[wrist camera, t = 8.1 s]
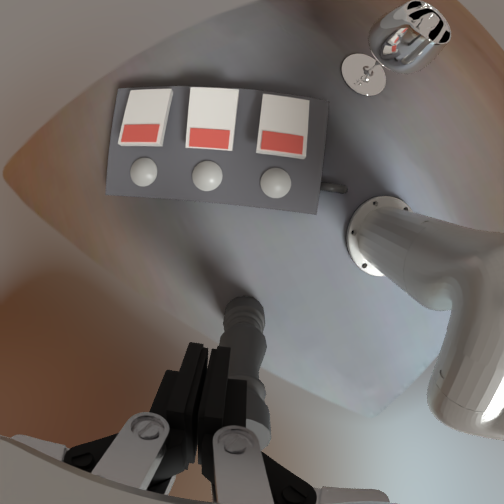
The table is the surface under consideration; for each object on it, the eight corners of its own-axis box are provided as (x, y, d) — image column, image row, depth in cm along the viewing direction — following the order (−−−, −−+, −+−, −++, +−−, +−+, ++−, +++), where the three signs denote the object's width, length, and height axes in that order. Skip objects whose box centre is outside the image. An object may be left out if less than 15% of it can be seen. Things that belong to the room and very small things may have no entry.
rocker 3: (307, 104, 34) (309, 99, 33) (304, 159, 35) (306, 156, 33) (262, 97, 34) (263, 93, 33) (256, 153, 35) (256, 149, 33)
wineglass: (348, 99, 37) (414, 51, 18) (333, 54, 35) (383, -13, 16) (392, 95, 37) (469, 57, 17) (377, 52, 35) (441, -3, 15)
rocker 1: (173, 92, 34) (171, 88, 32) (162, 146, 34) (159, 143, 33) (133, 93, 34) (130, 89, 32) (121, 146, 34) (117, 143, 33)
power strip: (353, 112, 38) (361, 107, 34) (341, 216, 42) (348, 219, 38) (126, 93, 37) (117, 88, 34) (114, 193, 41) (104, 195, 37)
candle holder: (218, 304, 45) (189, 423, 21) (255, 290, 44) (258, 407, 20) (234, 335, 46) (221, 460, 22) (269, 323, 46) (283, 448, 22)
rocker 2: (239, 90, 32) (238, 89, 31) (232, 149, 36) (232, 151, 35) (192, 88, 32) (190, 87, 31) (187, 146, 36) (185, 147, 35)
